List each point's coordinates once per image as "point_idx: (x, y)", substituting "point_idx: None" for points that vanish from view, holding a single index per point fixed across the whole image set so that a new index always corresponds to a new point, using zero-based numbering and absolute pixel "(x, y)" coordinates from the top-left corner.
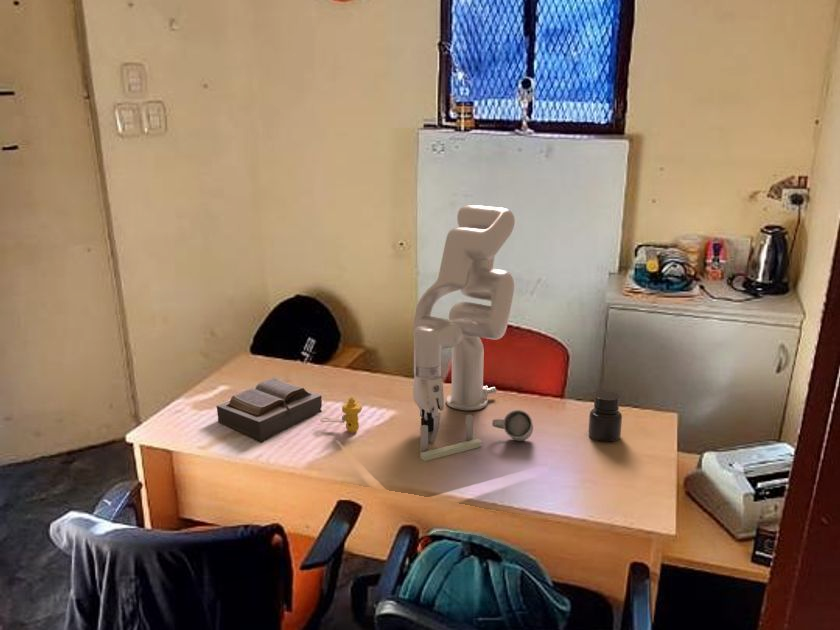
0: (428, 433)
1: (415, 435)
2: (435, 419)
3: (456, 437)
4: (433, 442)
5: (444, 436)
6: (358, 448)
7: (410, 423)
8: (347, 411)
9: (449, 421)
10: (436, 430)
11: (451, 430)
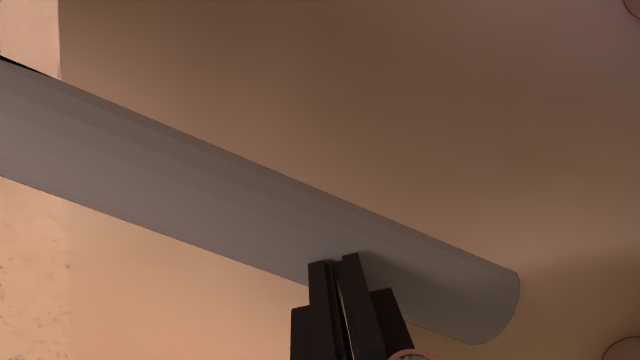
0: None
1: None
2: (94, 169)
3: (493, 62)
4: (507, 273)
5: (431, 163)
6: None
7: (116, 350)
8: None
9: (101, 8)
10: (321, 208)
11: (330, 61)
